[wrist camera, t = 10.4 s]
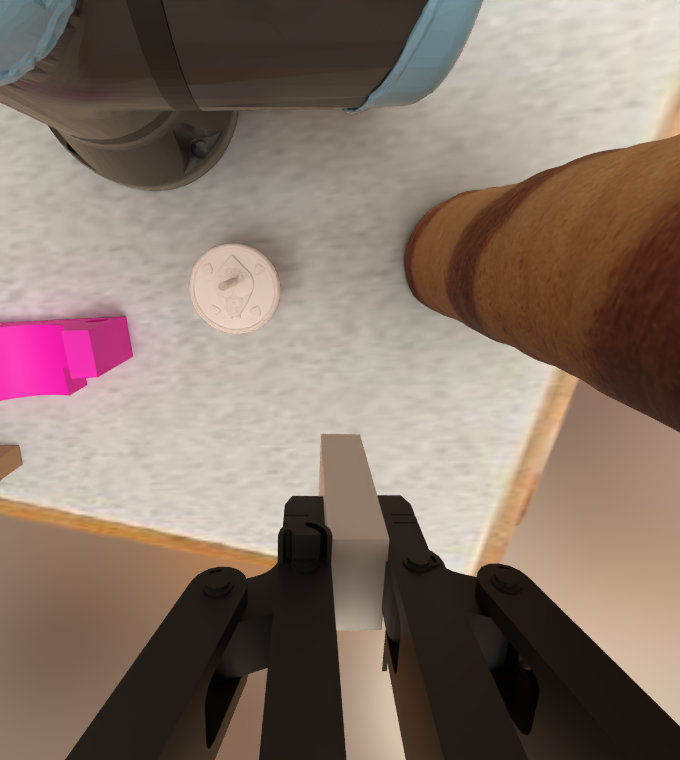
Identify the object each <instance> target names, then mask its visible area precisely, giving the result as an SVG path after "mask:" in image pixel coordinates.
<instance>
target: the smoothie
mask: <svg viewBox="0 0 680 760" xmlns="http://www.w3.org/2000/svg"><path fill="white" fill-rule="evenodd" d="M189 291H190V297H191V300H192V303H193V305H194V308H195V309H196V311H197V313H198V314H199V315H200V317H201V318H202V319H203V320H204V321H205V322H207V323H208V324H209V325H210V326H212V327H214V328H215V329H218V330H220V331H223V332H226V333H232V334H241V333H247V332H251V331H253V330H255V329H257V328H260V327H261V326H262V325H264V324H265V323H266V322H267V321H269V319H270V318H271V317H272V315H273V314H274V313H275V311H276V309H277V306H278V304H279V301H280V292H281V288H280V281H279V277H278V274H277V272H276V270H275V267H274V266H273V265H272V263H271V262H270V261H269V259H268V258H267V257H266V256H265V255H263V254H262V253H261V252H260V251H258V250H257V249H255V248H252V247H250V246H248V245H244V244H238V243H230V244H222V245H219V246H216V247H214V248H212V249H210V250H208V251H207V252H205V253H204V254H203V255H202V256H201V257H200V258H199V259H198V260H197V262H196V263H195V265H194V267H193V269H192V272H191V275H190V281H189Z"/></svg>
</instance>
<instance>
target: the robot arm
mask: <svg viewBox="0 0 680 760" xmlns="http://www.w3.org/2000/svg"><path fill="white" fill-rule="evenodd" d="M482 2H483V0H0V103H2V104H5V105H7V106H9V107H11V108H13V109H15V110H17V111H19V112H21V113H23V114H26V115H28V116H30V117H32V118H34V119H36V120H38V121H40V122H42V123H45V124H47V125H48V126H49V128H50V129H51V131H52V132H53V133H54V135H55V136H56V138H57V139H58V140H59V141H60V143H61V144H62V145H63V146H64V147H65V148H66V149H67V151H68V152H70V153H71V154H72V155H73V156H74V157H75V158H76V159H77V160H78V161H80V162H81V163H82V164H83V165H85V166H86V167H88V168H89V169H90V170H92V171H94V172H95V173H97V174H99V175H101V176H102V177H105V178H107V179H109V180H111V181H114V182H117V183H119V184H122V185H125V186H128V187H131V188H136V189H141V190H150V191H161V190H169V189H174V188H178V187H181V186H184V185H187V184H189V183H191V182H193V181H195V180H196V179H198V178H200V177H201V176H203V175H204V174H205V173H206V172H208V171H209V170H210V169H211V168H212V167H213V166H214V165H215V164H216V163H217V161H218V160H219V159H220V157H221V156H222V155H223V153H224V151H225V150H226V148H227V146H228V144H229V142H230V140H231V137H232V135H233V132H234V129H235V125H236V121H237V115H238V110H274V109H325V108H342V110H343V111H345V112H347V113H359V112H361V111H365V110H367V109H369V108H376V107H391V106H404V105H410V104H413V103H415V102H417V101H419V100H420V99H422V98H424V97H426V96H427V95H428V94H430V93H432V92H433V91H434V90H435V89H436V88H437V87H438V86H439V85H440V84H441V83H442V82H443V80H444V79H445V78H446V77H447V75H448V74H449V72H450V71H451V69H452V68H453V66H454V64H455V63H456V61H457V59H458V58H459V56H460V54H461V52H462V50H463V48H464V46H465V44H466V42H467V40H468V37H469V35H470V33H471V31H472V28H473V26H474V23H475V21H476V18H477V16H478V13H479V11H480V8H481V5H482ZM383 617H384V622H385V627H386V632H385V643H384V655H383V667H382V671H387V663H388V668H389V673H390V678H391V684H392V689H393V694H394V699H395V705H396V710H397V716H398V721H399V726H400V731H401V737H402V742H403V747H404V753H405V758H406V760H680V726H679V725H678V724H677V723H676V722H675V721H674V720H673V719H672V718H671V717H670V716H669V715H668V714H667V713H666V712H665V711H664V710H663V709H662V708H661V707H660V706H659V705H658V704H657V703H656V702H655V701H654V700H653V699H652V698H651V697H650V696H648V695H647V693H645V692H644V691H643V690H642V689H641V688H640V687H639V686H638V685H637V684H636V683H635V682H634V681H633V680H632V679H631V678H630V677H629V676H628V675H627V674H626V673H625V672H624V671H623V670H622V669H621V668H620V667H619V666H618V665H617V664H616V663H615V662H614V661H613V660H612V659H611V658H610V657H609V656H608V655H607V654H606V653H605V652H603V650H602V649H601V648H600V647H599V646H598V645H597V644H596V643H595V642H594V641H593V640H592V639H591V638H590V637H589V636H588V635H587V634H586V633H584V631H582V629H581V628H579V627H578V626H577V625H576V624H575V623H574V622H573V621H572V620H571V619H570V618H569V617H568V616H567V615H566V614H565V613H564V612H563V611H562V610H561V609H560V608H559V607H558V606H557V605H556V604H555V603H554V602H553V601H552V600H551V599H550V598H549V597H548V596H547V595H546V594H545V593H544V592H543V591H542V590H541V589H540V588H539V587H538V586H537V585H536V584H535V583H534V582H533V581H532V580H531V579H530V578H529V577H528V576H526V575H525V574H524V573H522V572H521V571H520V570H517V569H515V568H513V567H511V566H507V565H503V564H488V565H485V566H483V567H481V568H480V570H479V571H478V573H477V577H473V576H469V575H464V574H460V573H457V572H453V571H451V570H449V569H447V568H446V567H445V565H444V563H443V561H442V560H441V558H440V557H439V556H438V555H436V554H435V553H433V552H432V551H430V550H429V549H428V546H427V544H426V541H425V539H424V536H423V534H422V531H421V529H420V527H419V524H418V522H417V519H416V517H415V516H414V512H413V509H412V507H411V504H410V503H409V502H407V501H406V500H405V499H404V498H403V497H402V496H400V495H377V493H376V490H375V486H374V483H373V479H372V476H371V472H370V469H369V465H368V462H367V458H366V454H365V451H364V447H363V444H362V440H361V437H360V435H353V434H321V451H320V477H319V496H292V497H291V498H290V499H289V501H288V502H287V503H286V504H285V510H284V521H283V527H282V528H281V529H280V532H279V534H278V562H277V564H276V565H275V566H274V567H273V568H272V569H271V570H269V571H268V572H266V573H264V574H262V575H258V576H255V577H251V578H247V579H246V577H245V575H244V574H243V573H242V572H241V571H239V570H237V569H234V568H231V567H216V568H211V569H208V570H206V571H204V572H202V573H200V574H198V575H197V576H196V577H195V578H194V579H193V580H192V581H191V583H190V584H189V585H188V587H187V588H186V590H185V591H184V592H183V594H182V595H181V597H180V598H179V599H178V601H177V602H176V604H175V605H174V607H173V608H172V609H171V611H170V612H169V613H168V615H167V616H166V618H165V619H164V621H163V622H162V623H161V625H160V626H159V628H158V629H157V630H156V632H155V633H154V635H153V636H152V637H151V639H150V640H149V642H148V643H147V645H146V646H145V647H144V649H143V650H142V652H141V653H140V654H139V656H138V658H137V659H136V660H135V662H134V663H133V664H132V666H131V667H130V669H129V670H128V671H127V673H126V674H125V676H124V677H123V679H122V680H121V681H120V683H119V684H118V686H117V687H116V688H115V690H114V691H113V693H112V694H111V696H110V697H109V698H108V700H107V701H106V703H105V704H104V706H103V707H102V708H101V710H100V711H99V713H98V714H97V715H96V717H95V718H94V720H93V721H92V723H91V724H90V725H89V727H88V728H87V730H86V731H85V733H84V734H83V735H82V737H81V738H80V740H79V741H78V742H77V744H76V745H75V747H74V748H73V750H72V751H71V752H70V754H69V755H68V756H67V758H66V759H65V760H215V758H216V755H217V753H218V750H219V748H220V746H221V743H222V740H223V738H224V736H225V733H226V731H227V728H228V726H229V724H230V721H231V718H232V716H233V714H234V711H235V709H236V706H237V704H238V701H239V699H240V697H241V694H242V692H243V689H244V686H245V684H246V682H247V677H248V674H250V673H253V672H256V671H259V670H262V669H265V668H268V672H267V682H266V693H265V704H264V715H263V724H262V735H261V745H260V755H259V760H346V751H345V738H344V724H343V711H342V698H341V685H340V672H339V660H338V647H337V633H336V630H381V629H382V618H383Z"/></svg>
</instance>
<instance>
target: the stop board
mask: <svg viewBox="0 0 680 760" xmlns="http://www.w3.org/2000/svg"><path fill="white" fill-rule="evenodd" d="M21 465H22V460H21V455H20V449H19V446H0V480H2V479H3V478H4V477H6V476H7V475H8V474H10V473H11V472H12V471H14V470H15V469H17V468H18V467H19V466H21Z"/></svg>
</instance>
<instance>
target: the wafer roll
mask: <svg viewBox="0 0 680 760" xmlns="http://www.w3.org/2000/svg"><path fill="white" fill-rule="evenodd" d="M405 270H406V276H407V280H408V283H409V287H410V289H411V291H412V293H413V296H414V297H415V298H417V299H418V300H419V301H420V302H421V303H423V304H424V305H425V306H427V307H429V308H430V309H432V310H434V311H436V312H439V313H441V314H442V315H445V316H447V317H450V318H453V319H456V320H458V321H460V322H462V323H464V324H465V325H467V326H468V327H470V328H472V329H474V330H475V331H477V332H479V333H481V334H483V335H485V336H486V337H488V338H490V339H492V340H494V341H497V342H500V343H504V344H507V345H510V346H512V347H515V348H517V349H518V350H520V351H521V352H523V353H524V354H526V355H528V356H530V357H532V358H534V359H536V360H539V361H541V362H544V363H547V364H549V365H553V366H556V367H558V368H559V369H561V370H563V371H565V372H567V373H569V374H571V375H573V376H575V377H577V378H579V379H581V380H583V381H584V382H586V383H587V384H589V385H591V386H592V387H593V388H595V389H597V390H598V391H600V392H601V393H603V394H605V395H607V396H609V397H611V398H613V399H615V400H617V401H619V402H621V403H623V404H625V405H627V406H629V407H631V408H633V409H635V410H637V411H639V412H641V413H643V414H645V415H648V416H649V417H651V418H653V419H655V420H657V421H659V422H661V423H663V424H665V425H667V426H669V427H671V428H673V429H674V430H676V431H678V432H680V135H677V136H674V137H671V138H667V139H663V140H658V141H652V142H647V143H642V144H638V145H634V146H631V147H628V148H622V149H614V150H607V151H602V152H597V153H593V154H590V155H587V156H584V157H581V158H578V159H575V160H573V161H571V162H569V163H567V164H565V165H562V166H559V167H555V168H551V169H548V170H545V171H543V172H540V173H538V174H536V175H534V176H532V177H530V178H528V179H527V180H525V181H523V182H520V183H517V184H512V185H506V186H502V187H493V188H487V189H484V190H473V191H467V192H464V193H461V194H458V195H456V196H454V197H453V198H451V199H450V200H448V201H446V202H443V203H441V204H439V205H438V206H436V207H434V208H433V209H431V210H430V211H429V212H428V213H427V214H426V215H425V216H424V217H423V218H422V219H421V220H420V222H419V223H418V224H417V226H416V228H415V230H414V232H413V233H412V235H411V237H410V240H409V243H408V246H407V250H406V256H405Z"/></svg>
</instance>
